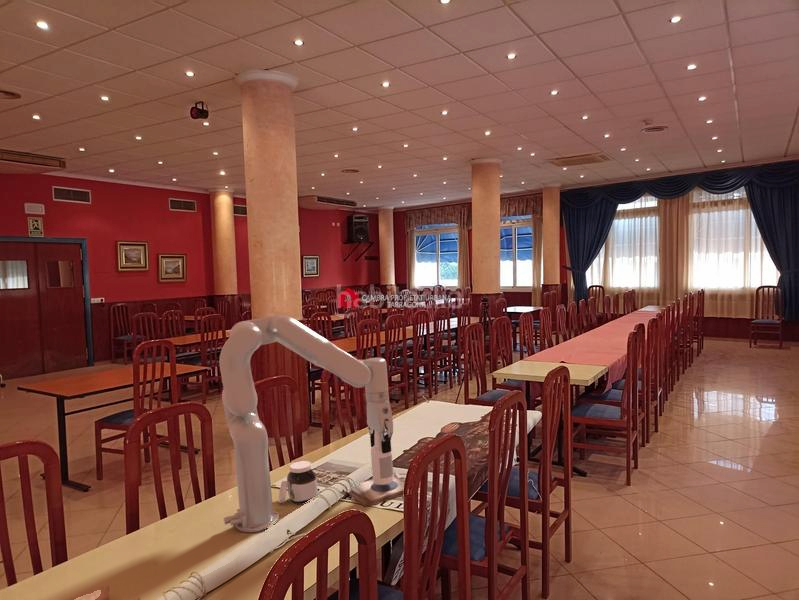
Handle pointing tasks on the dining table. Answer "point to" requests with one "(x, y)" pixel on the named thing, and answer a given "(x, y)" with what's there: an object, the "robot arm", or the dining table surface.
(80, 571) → the dining table surface
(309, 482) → the spread jar
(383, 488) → the square pad with disc
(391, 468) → the spray bottle
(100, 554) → the dining table surface
